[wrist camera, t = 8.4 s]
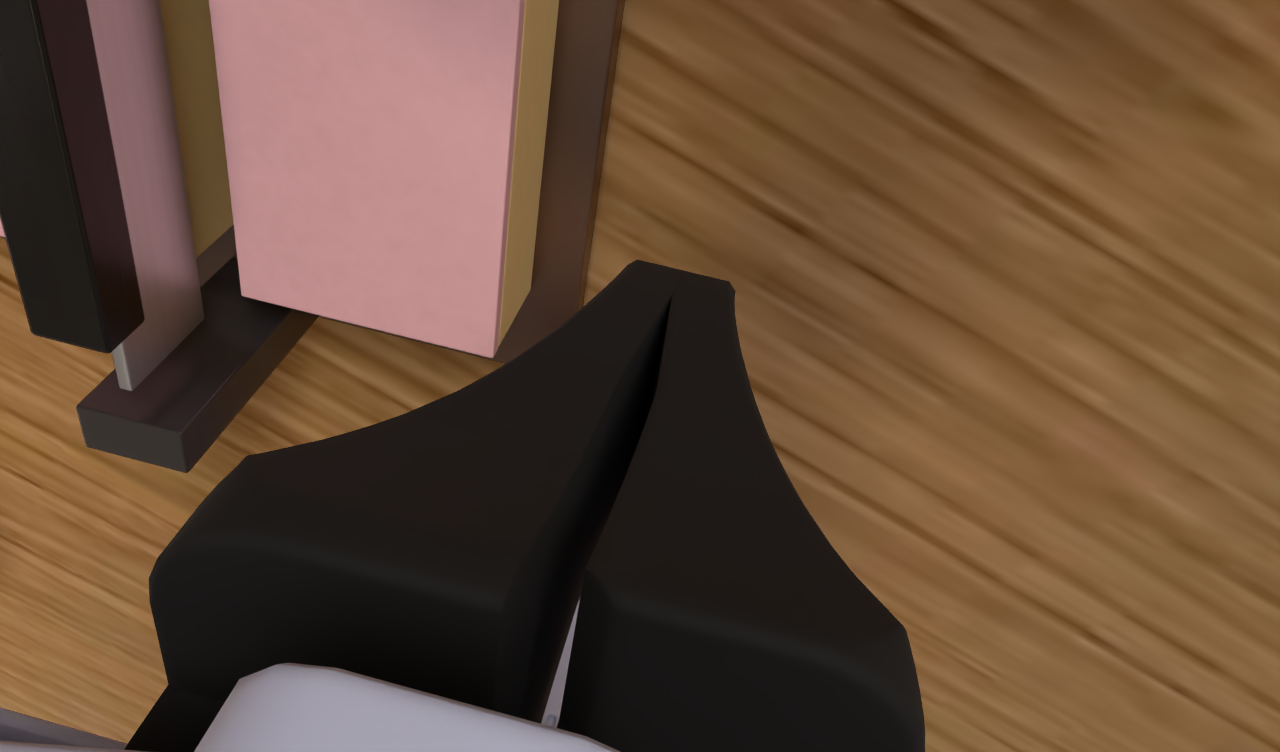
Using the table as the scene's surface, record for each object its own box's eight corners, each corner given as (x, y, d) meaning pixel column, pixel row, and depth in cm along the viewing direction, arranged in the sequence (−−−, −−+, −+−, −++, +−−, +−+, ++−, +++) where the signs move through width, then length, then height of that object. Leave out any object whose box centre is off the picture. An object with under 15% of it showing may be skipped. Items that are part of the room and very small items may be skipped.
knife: (231, 325, 23) (126, 436, 20) (166, 308, 23) (52, 416, 20) (138, -462, 15) (-71, -482, 12) (34, -481, 15) (-200, -508, 12)
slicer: (575, 362, 27) (489, 557, 22) (20, 225, 29) (-199, 376, 23) (697, -524, 16) (588, -598, 11) (-216, -691, 17) (-754, -838, 12)
